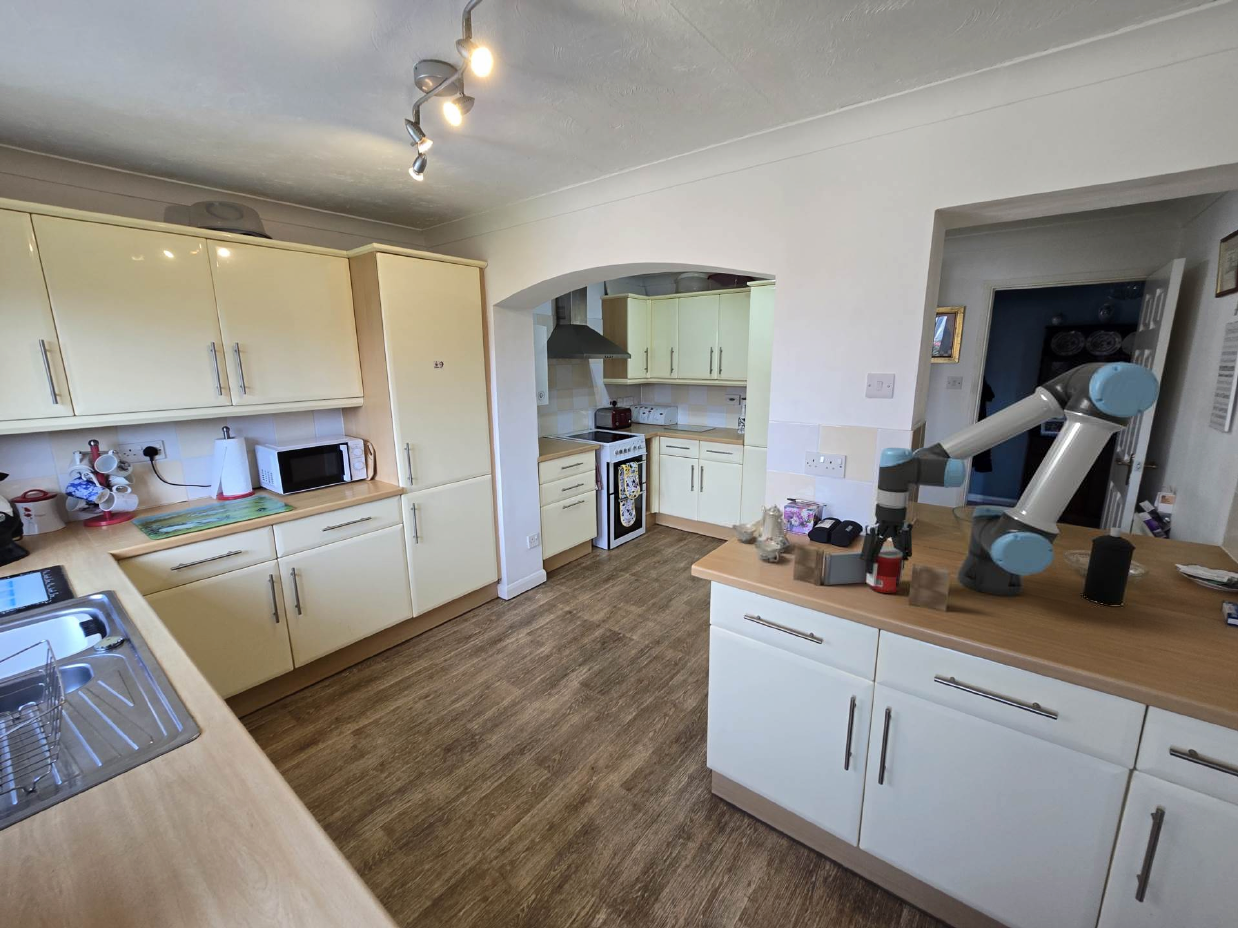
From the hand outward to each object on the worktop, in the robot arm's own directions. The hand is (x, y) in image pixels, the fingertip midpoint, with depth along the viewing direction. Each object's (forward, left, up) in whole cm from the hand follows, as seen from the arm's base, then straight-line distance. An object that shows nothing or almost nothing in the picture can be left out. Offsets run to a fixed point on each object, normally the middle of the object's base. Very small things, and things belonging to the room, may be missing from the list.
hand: (883, 582), depth 140 cm
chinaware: (+37, -14, -3) cm, 40 cm away
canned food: (0, 0, -2) cm, 2 cm away
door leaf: (+7, -1, -2) cm, 7 cm away
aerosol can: (-51, -23, -2) cm, 56 cm away
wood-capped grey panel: (+4, +5, -2) cm, 7 cm away
